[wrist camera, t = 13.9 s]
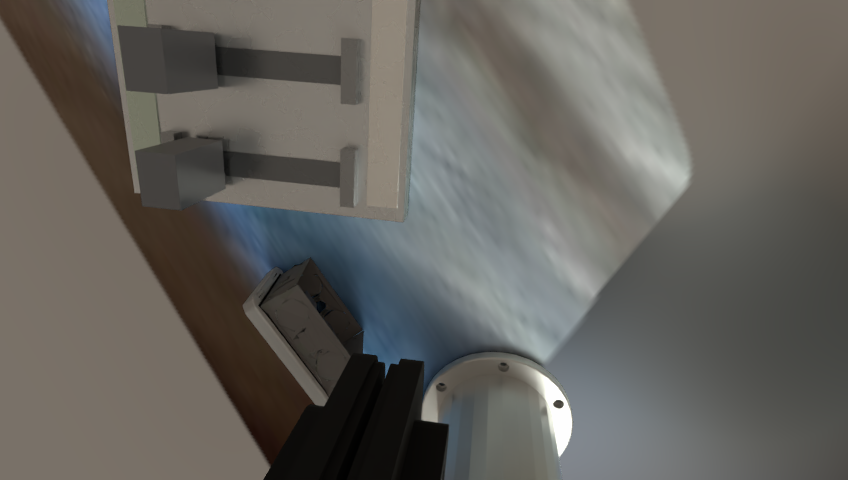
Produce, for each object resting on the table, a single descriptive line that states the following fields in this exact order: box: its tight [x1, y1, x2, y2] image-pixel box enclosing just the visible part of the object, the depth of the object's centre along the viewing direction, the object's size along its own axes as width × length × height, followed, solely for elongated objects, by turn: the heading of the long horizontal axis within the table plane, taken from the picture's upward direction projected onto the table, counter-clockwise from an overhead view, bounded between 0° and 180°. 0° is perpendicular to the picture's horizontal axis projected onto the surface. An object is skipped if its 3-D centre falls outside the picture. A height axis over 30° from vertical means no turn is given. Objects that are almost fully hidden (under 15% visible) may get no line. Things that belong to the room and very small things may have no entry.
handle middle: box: [117, 25, 218, 94], centre depth 31 cm, size 4×3×6 cm
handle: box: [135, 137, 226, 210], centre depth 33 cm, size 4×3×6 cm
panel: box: [107, 0, 421, 222], centre depth 34 cm, size 20×21×3 cm
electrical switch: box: [243, 257, 364, 406], centre depth 37 cm, size 9×5×9 cm, turn 32°
